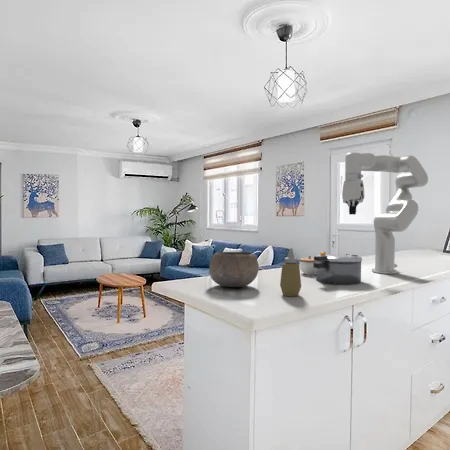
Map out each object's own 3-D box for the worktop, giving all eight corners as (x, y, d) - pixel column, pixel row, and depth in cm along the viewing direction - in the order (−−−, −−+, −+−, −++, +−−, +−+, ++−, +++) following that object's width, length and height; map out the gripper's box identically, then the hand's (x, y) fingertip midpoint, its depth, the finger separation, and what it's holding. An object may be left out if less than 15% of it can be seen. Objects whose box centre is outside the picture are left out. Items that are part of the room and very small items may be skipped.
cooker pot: (333, 275, 182) (333, 256, 181) (369, 281, 166) (370, 260, 165) (298, 281, 166) (298, 259, 166) (335, 288, 150) (335, 264, 150)
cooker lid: (334, 255, 182) (334, 249, 182) (372, 259, 166) (372, 253, 166) (298, 259, 166) (298, 252, 166) (336, 264, 150) (336, 257, 149)
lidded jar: (320, 275, 181) (321, 257, 181) (299, 275, 183) (299, 256, 183) (319, 272, 192) (319, 255, 191) (299, 271, 194) (299, 254, 194)
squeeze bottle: (277, 293, 142) (278, 247, 141) (297, 292, 142) (298, 247, 142) (282, 297, 134) (283, 249, 133) (303, 297, 134) (304, 249, 134)
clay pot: (202, 284, 159) (202, 250, 158) (244, 281, 167) (244, 248, 167) (220, 294, 139) (220, 255, 139) (267, 289, 148) (267, 253, 147)
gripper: (370, 177, 176) (370, 214, 176) (344, 179, 188) (344, 214, 188) (362, 176, 171) (361, 214, 172) (335, 178, 183) (335, 214, 184)
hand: (352, 214), depth 180 cm, fingers closed
